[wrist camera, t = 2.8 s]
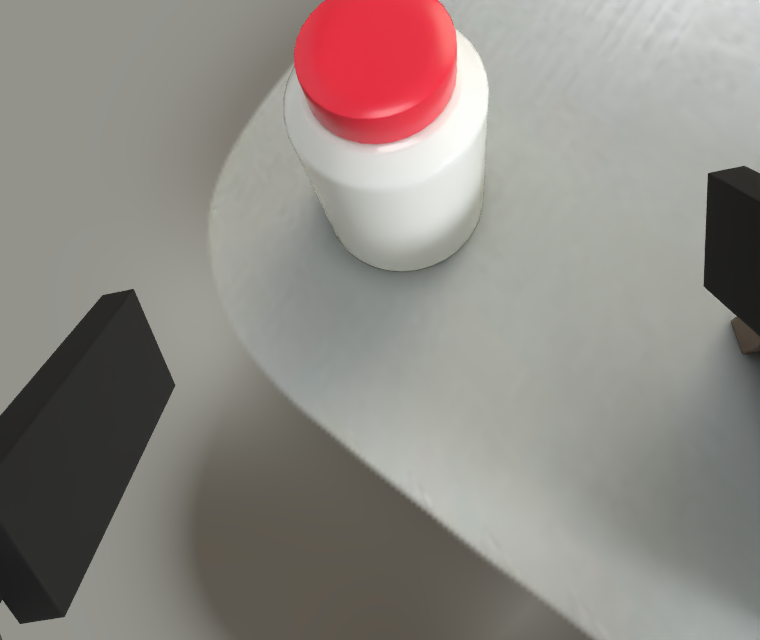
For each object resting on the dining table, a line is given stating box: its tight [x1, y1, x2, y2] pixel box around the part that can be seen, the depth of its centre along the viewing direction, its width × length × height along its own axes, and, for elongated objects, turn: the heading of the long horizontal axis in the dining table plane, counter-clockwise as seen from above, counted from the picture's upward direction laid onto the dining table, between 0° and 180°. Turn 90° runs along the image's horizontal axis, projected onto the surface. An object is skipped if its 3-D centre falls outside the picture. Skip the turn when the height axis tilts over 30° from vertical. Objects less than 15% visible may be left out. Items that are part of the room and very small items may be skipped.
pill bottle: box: [284, 0, 489, 271], centre depth 26 cm, size 8×8×11 cm
